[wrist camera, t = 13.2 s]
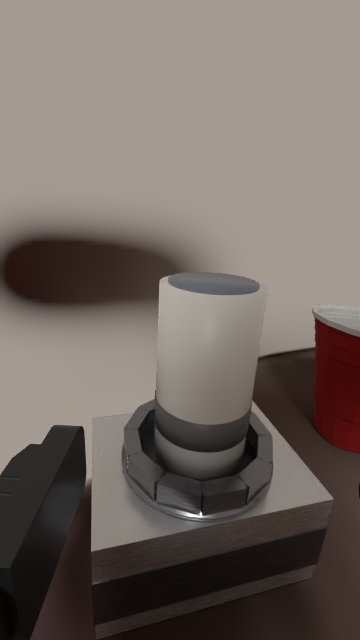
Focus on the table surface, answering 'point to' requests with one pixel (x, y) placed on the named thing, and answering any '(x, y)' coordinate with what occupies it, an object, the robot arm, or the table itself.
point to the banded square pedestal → (195, 525)
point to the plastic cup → (337, 375)
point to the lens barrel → (206, 371)
